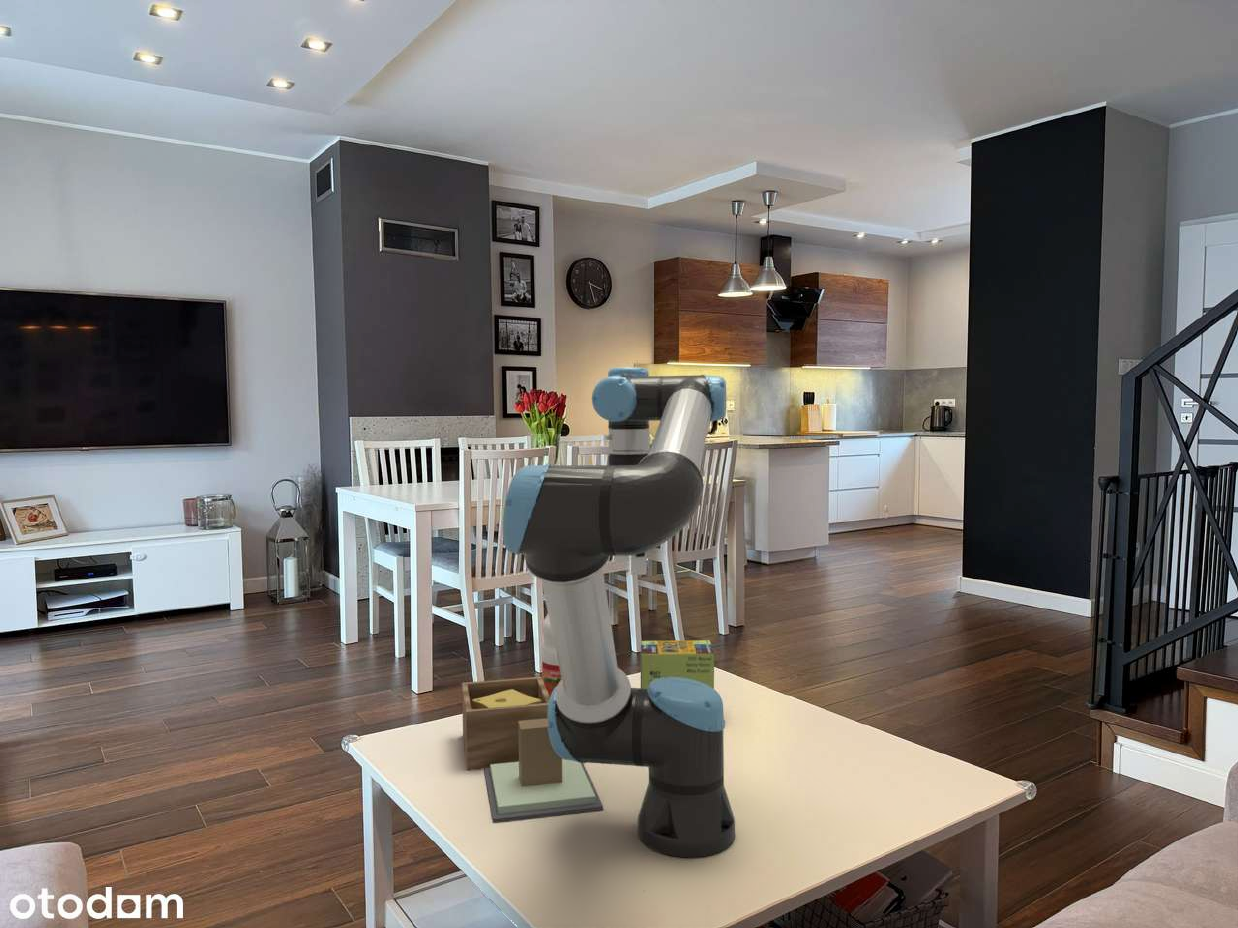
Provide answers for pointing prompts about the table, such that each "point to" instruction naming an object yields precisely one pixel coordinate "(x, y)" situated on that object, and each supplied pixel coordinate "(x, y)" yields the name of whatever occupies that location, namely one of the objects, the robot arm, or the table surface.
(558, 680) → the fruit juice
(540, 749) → the lid
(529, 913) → the table surface
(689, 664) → the protein box
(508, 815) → the mat
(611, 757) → the robot arm
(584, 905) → the table surface
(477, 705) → the cheese
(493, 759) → the box
